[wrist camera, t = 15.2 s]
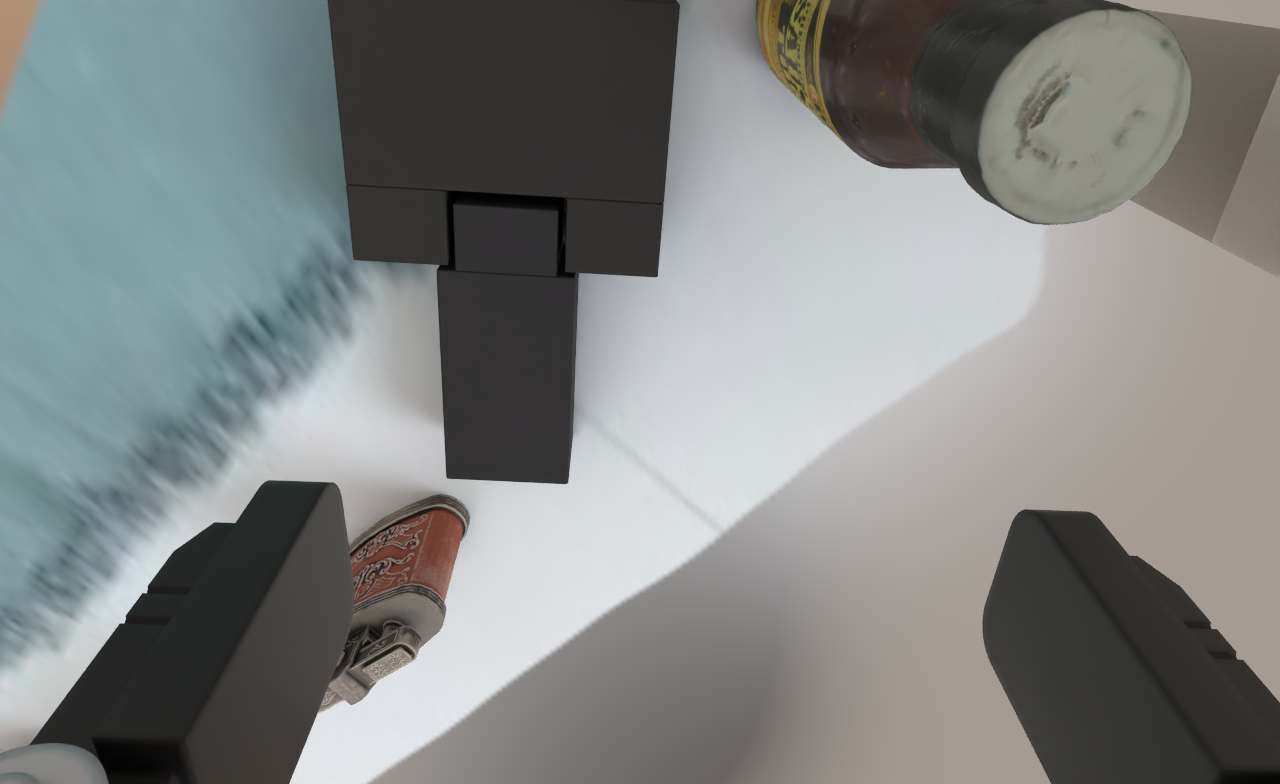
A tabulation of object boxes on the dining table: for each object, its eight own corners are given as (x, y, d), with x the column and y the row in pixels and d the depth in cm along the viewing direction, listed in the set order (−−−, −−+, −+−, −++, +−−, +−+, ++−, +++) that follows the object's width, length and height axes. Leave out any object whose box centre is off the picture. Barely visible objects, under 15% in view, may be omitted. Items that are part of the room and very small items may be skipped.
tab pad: (581, 184, 36) (577, 211, 32) (572, 438, 42) (568, 484, 38) (451, 176, 35) (432, 202, 32) (461, 433, 42) (446, 479, 38)
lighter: (370, 593, 46) (312, 748, 38) (326, 554, 45) (254, 704, 36) (483, 525, 44) (450, 671, 35) (441, 482, 43) (395, 623, 34)
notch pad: (673, -4, 32) (679, 3, 29) (654, 245, 37) (657, 277, 34) (357, -28, 32) (324, -23, 28) (378, 229, 36) (352, 260, 33)
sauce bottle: (719, -14, 32) (837, 46, 15) (866, -120, 31) (1191, -194, 13) (801, 131, 35) (983, 328, 17) (940, 40, 33) (1292, 156, 16)
